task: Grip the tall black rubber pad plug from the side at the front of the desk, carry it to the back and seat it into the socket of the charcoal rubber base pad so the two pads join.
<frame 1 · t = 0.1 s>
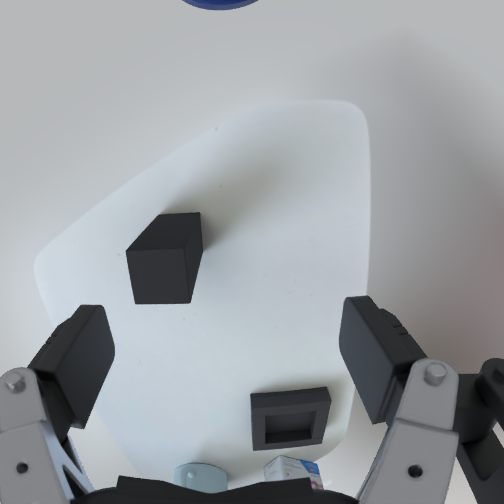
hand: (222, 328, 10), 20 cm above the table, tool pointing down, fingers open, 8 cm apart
base pad: (287, 414, 39), on the table
ink box: (291, 464, 44), on the table
mug: (197, 468, 44), on the table
pad plug: (180, 233, 30), on the table
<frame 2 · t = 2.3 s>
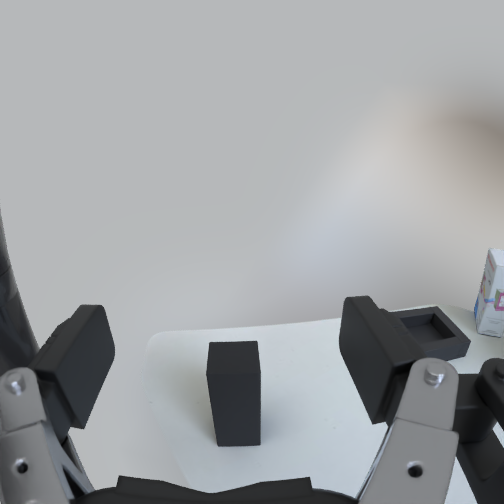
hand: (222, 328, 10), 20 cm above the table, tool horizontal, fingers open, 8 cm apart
base pad: (422, 342, 39), on the table
ink box: (486, 323, 41), on the table
pad plug: (238, 430, 27), on the table
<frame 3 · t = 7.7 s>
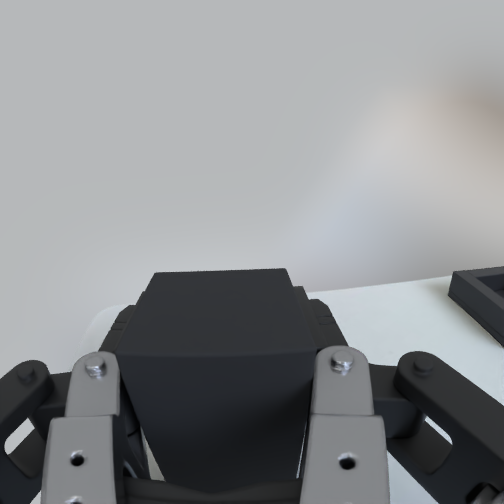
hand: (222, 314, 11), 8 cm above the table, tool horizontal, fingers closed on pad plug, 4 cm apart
pad plug: (236, 490, 11), on the table, touching gripper
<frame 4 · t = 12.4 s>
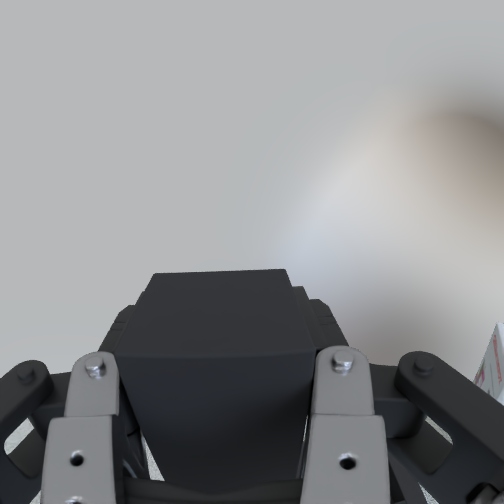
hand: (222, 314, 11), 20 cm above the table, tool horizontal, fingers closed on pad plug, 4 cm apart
base pad: (349, 492, 20), on the table
ink box: (474, 437, 22), on the table
pad plug: (236, 491, 11), point 12 cm above the table, touching gripper
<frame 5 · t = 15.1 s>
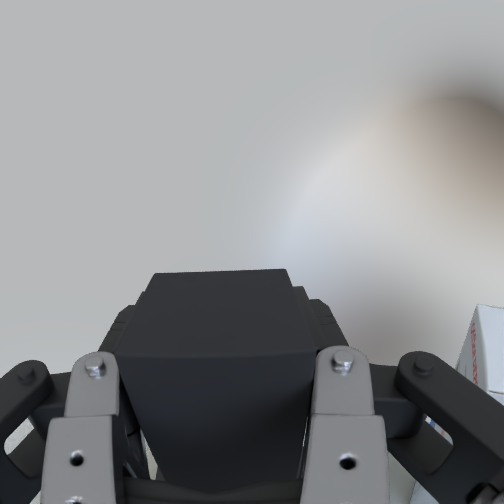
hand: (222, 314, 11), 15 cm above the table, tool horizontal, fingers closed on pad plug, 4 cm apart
ink box: (445, 467, 16), on the table
pad plug: (236, 491, 11), point 7 cm above the table, touching gripper
when the fingers open (9 cm above the table, at t = 17.2 s): pad plug stays where it is, resting on base pad.
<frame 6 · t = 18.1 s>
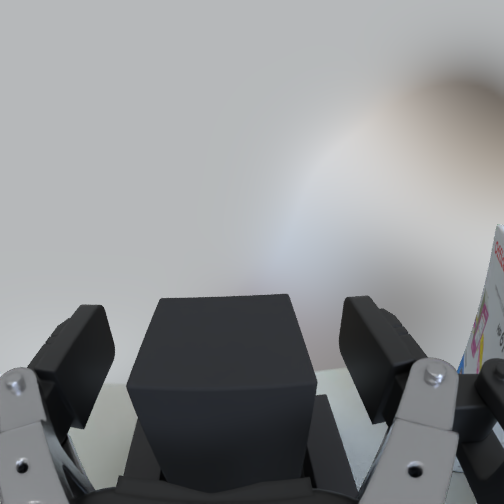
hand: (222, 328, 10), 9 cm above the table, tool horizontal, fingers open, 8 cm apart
base pad: (239, 501, 11), on the table
ink box: (477, 425, 14), on the table
pad plug: (240, 499, 11), point 1 cm above the table, touching base pad
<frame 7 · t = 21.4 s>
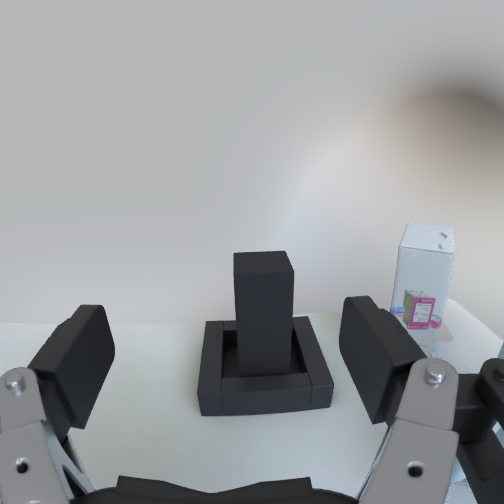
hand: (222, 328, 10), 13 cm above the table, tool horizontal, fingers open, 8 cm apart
base pad: (261, 372, 26), on the table
ink box: (406, 346, 28), on the table
mug: (485, 463, 13), on the table
pad plug: (262, 368, 26), point 1 cm above the table, touching base pad
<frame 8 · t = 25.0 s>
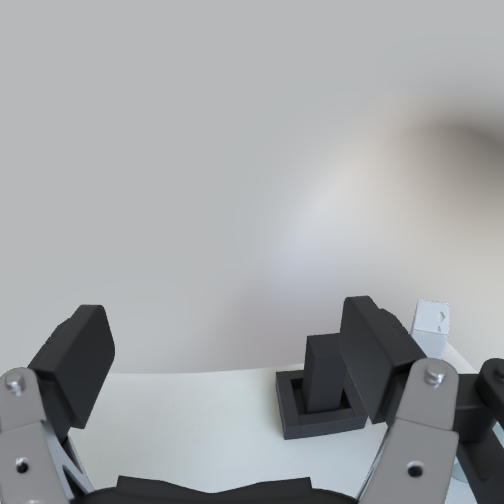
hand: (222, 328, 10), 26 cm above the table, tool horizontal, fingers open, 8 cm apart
base pad: (317, 406, 37), on the table
ink box: (411, 382, 39), on the table
mug: (459, 462, 24), on the table
pad plug: (318, 404, 37), point 1 cm above the table, touching base pad
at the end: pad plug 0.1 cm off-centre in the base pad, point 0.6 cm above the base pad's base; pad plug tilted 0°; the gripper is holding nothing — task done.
